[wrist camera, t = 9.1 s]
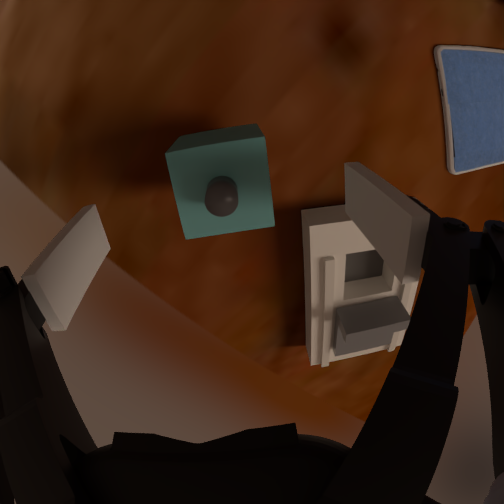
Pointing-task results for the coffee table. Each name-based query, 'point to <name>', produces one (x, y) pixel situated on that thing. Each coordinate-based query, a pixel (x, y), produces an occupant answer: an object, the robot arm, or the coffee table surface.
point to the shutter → (368, 325)
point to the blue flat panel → (472, 105)
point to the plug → (221, 181)
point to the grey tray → (342, 279)
